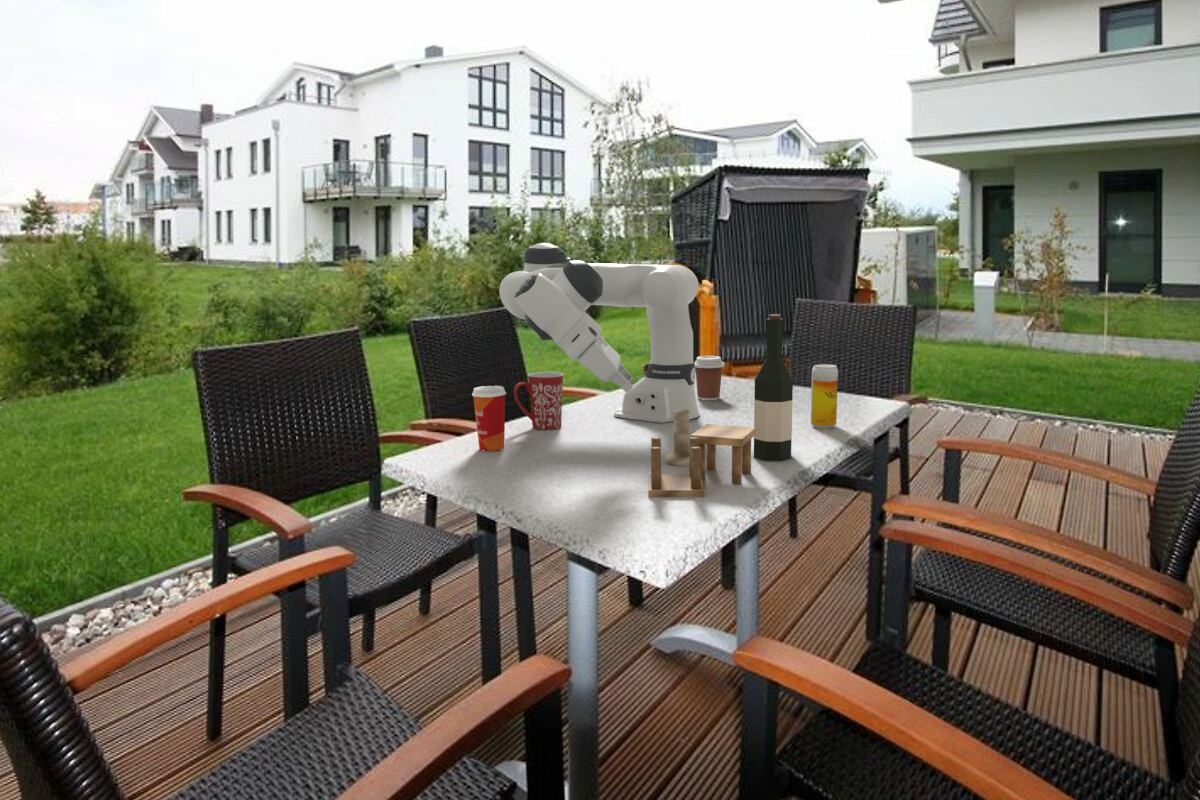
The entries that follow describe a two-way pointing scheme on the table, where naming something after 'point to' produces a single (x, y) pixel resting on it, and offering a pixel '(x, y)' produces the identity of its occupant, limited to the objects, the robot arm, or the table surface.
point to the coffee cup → (708, 376)
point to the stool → (728, 437)
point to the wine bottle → (773, 400)
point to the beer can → (824, 395)
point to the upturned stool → (676, 483)
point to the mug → (543, 399)
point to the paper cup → (490, 416)
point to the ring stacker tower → (680, 440)
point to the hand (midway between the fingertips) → (630, 385)
